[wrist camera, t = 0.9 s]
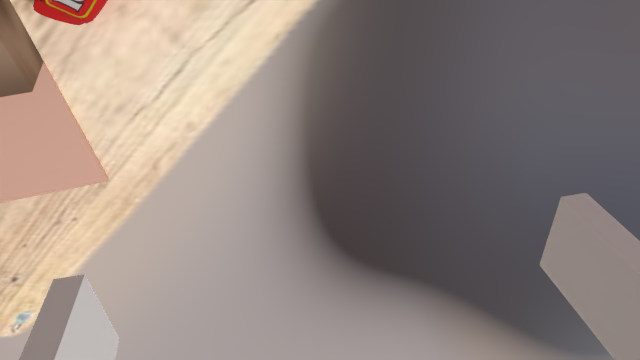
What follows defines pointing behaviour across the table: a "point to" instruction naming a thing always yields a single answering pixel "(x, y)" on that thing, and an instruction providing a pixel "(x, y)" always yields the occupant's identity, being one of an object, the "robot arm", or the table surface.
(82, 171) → the mat
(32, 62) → the serving board
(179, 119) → the table surface
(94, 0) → the candy bar
